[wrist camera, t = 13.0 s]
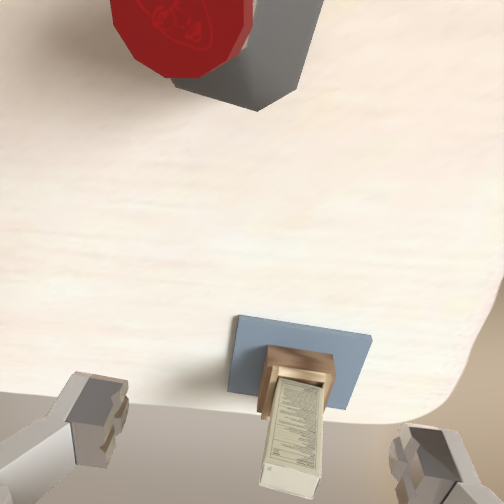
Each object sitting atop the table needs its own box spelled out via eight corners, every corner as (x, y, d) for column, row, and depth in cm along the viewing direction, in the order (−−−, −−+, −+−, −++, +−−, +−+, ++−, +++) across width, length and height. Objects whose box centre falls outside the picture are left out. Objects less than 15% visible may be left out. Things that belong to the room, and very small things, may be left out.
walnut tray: (258, 390, 59) (256, 418, 55) (268, 342, 54) (267, 368, 50) (317, 400, 59) (320, 428, 55) (333, 352, 54) (337, 379, 50)
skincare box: (273, 397, 53) (255, 485, 43) (278, 374, 51) (261, 461, 41) (319, 410, 53) (312, 502, 42) (326, 387, 51) (321, 478, 40)
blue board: (228, 386, 60) (227, 391, 59) (239, 314, 53) (238, 319, 52) (344, 404, 60) (345, 409, 59) (371, 335, 53) (372, 340, 52)
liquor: (195, 60, 38) (6, 127, 12) (216, -54, 34) (-12, -334, 8) (285, 87, 39) (289, 207, 13) (317, -21, 34) (423, -174, 8)
